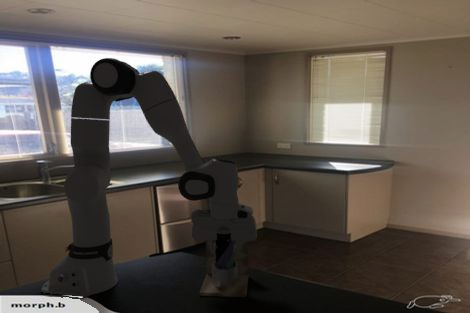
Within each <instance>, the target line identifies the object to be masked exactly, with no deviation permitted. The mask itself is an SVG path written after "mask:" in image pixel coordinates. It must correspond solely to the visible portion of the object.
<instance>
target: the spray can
mask: <svg viewBox="0 0 470 313" xmlns="http://www.w3.org/2000/svg"><path fill="white" fill-rule="evenodd" d="M217 230H218V231H217V240H216V267H218V268H225V269H227V268H232V267H233V241H231V232H230V229H228V228H227V227H220V228H219V229H217Z"/></svg>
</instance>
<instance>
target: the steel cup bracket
mask: <svg viewBox="0 0 470 313" xmlns="http://www.w3.org/2000/svg"><path fill="white" fill-rule="evenodd" d="M212 284H213V285H214V286H215V287H218V288H223V289H228V288H232V287H235V286H236V285H238V263H237V262H236V261H235V260H233V267H232V268H227V269H225V268H218V267H216V261H215V262H213V264H212Z"/></svg>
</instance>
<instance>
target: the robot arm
mask: <svg viewBox="0 0 470 313" xmlns="http://www.w3.org/2000/svg"><path fill="white" fill-rule="evenodd" d="M89 77H90V81H86V82H82V83H79V84H78V85H77V86H76V87H75V88H74V93H73V96H72V101H71V102H72V103H71V109H70V110H71V111H70V112H71V113H70V116H71V117H70V147H71V151H72V156H73V165H74V167H73V169H72V170H71V171H70V172H69V173H68V175H67V176H66V178H65V179H64V184H63V191H64V194H65V196H66V199H67V200H66V201H67V205H68V208H69V213H70V219H71V227H72V243H70V244H68V246H66V247H65V248H64V249H65V252H67V251H68V254H67V255H66V256H65V257H63V258H62V259H60V261H59V262H58V263H57V264H55V265H54V266H53V268H52V269H51V271H50V273H49V279H48V280H47V281H46V282H44V284H43V285H42V287H41V290H40V291H41V292H43V293H42V294H45V293H50V294H49V295H52V294H61V295H72V296H83V297H85V298H86V297H89V296H92V295H96V294H100V293H103V292H105V291H108V290H110V289H112V288H113V287H115V286H116V285H117V283H118V282H119V279H118V276H117V273H116V269H115V266H114V261H113V260H114V259H113V256H114V247H113V246H114V245H113V239H112V237H111V235H112V234H111V218H110V213H109V208H108V201H107V189H108V187H109V186H110V183H111V175H112V174H111V151H110V128H111V127H110V123H111V106H112V104H113V102H121V101H126V100H129V99H132V98H134V99H135V100H136V102H137V104H138V105H139V107H140V110H141V112H142V114H143V116H144V118H145V120H146V122H147V124H148V125H149V127H150V128H151V130H152V131H153V132H154V133H155V134H156V135H158V136H160V137H161V138H163V139H165V140H166V141H168V142H169V143H170V144H171V145H172V146H173V147H174V149H175V151H176V153H177V154H178V157H179V159H180V160H181V162H182V165H183V167H184V168H185V169H184V170H185V172H184V173H183V174H182V175H181V176H180V178H179V180H178V182H177V184H178V185H177V186H178V191H179V193H180V194H181V196H182V197H183V198H184V199H186V200H188V201H191V202H195V201H196V202H197V201H201V200H202V201H203V200H207V199H208V200H209V209H195V210H193V211H192V212H191V215H190V217H191V218H190V219H191V223H192V225H191V226H192V228H191V237H192V239H193V240H194V241H196V240H197V241H200V240H201V241H206V240H207V243H208V245H209V247H210V248H211V254H216V247H214V246H213V244H212V241H213V240H217V231H218V230H217V229H219V228H220V227H227V228H228V229H230V232H231V241H236V244H237V246H236V247H233V254H238V248H239V246H240V245H241V241H248V242H254V241H256V239H257V237H258V230H257V224H256V219H255V217H254V216H253V213H254V210H253V208H252V207H251V206H249V205H246V204H243V203H239V196H238V189H239V173H238V166H237V164H236V163H235V161H233V160H232V159H229V158H227V157H226V158H225V157H212V158H211V159H210V160H209V161H207V162H205V161H204V160H203V158H202V157H201V154H200V152H199V151H198V149H197V146H196V145H195V143H194V140H193V139H192V136H191V134H190V132H189V129H188V126H187V123H186V120H185V117H184V113H183V110H182V109H181V108H182V107H181V105H180V103H179V101H178V99H177V97H176V94H175V92H174V90H173V89H172V87H171V85H170V83H169V82H168V81H167V79H166V78H165V76H164V75H163V74H162V73H161V72H160V71H157V70H147V71H144V72H141V73H140V72H139V70H138V69H137V68H135V67H134V66H132V65H131V64H129V63H127V62H125V61H122V60H119V59H117V58H113V57H105V58H101V59H98V60H97V61H96V62H95V63H94V64H93V65H92V67H91V69H90V73H89ZM41 292H40V293H41Z"/></svg>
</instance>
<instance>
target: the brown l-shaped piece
mask: <svg viewBox="0 0 470 313" xmlns="http://www.w3.org/2000/svg"><path fill="white" fill-rule="evenodd" d="M212 244H213V246H214V247H216V240H213V241H212ZM236 246H237V244H236V241H233V247H236ZM205 251H206V252H205V254H206V255H205V257H206V258H205V261H206V262H205V263H206V264H205V265H206V274H205V277H204V279H203V282H202V285H201V286H200V290H199V293H198V295H199V297H200V296H203V297H227V298H228V297H229V298H231V297H232V298H247V294H248V285H249V274H250V273H249V241H241V245H240V246H239V248H238V254H233V260H235V261H236V262H237V263H238V285H236V286H235V287H232V288H228V289H223V288H218V287H215V286H214V285H213V284H212V264H213V262H215V261H216V254H211V248H210V247H209V245H208V243H207V240H205Z"/></svg>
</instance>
